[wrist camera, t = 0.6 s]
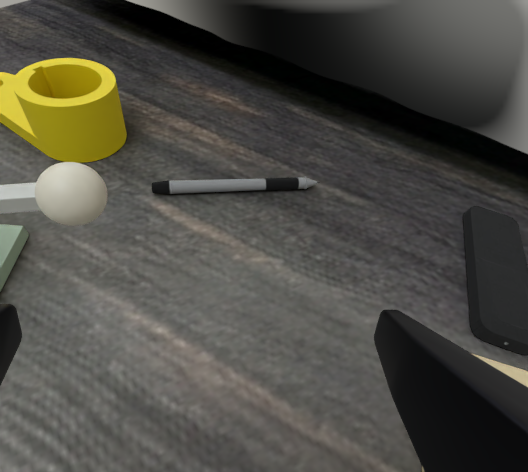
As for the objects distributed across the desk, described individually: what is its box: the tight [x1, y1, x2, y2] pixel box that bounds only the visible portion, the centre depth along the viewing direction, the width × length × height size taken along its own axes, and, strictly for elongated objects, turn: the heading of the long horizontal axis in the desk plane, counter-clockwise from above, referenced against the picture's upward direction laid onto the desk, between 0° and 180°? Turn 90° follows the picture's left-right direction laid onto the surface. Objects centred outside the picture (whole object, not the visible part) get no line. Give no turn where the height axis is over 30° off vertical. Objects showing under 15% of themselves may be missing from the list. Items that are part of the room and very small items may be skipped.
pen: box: [152, 177, 318, 194], centre depth 34 cm, size 1×16×1 cm, turn 101°
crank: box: [0, 58, 127, 163], centre depth 34 cm, size 18×8×6 cm, turn 64°
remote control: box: [463, 206, 528, 355], centre depth 31 cm, size 5×2×15 cm
